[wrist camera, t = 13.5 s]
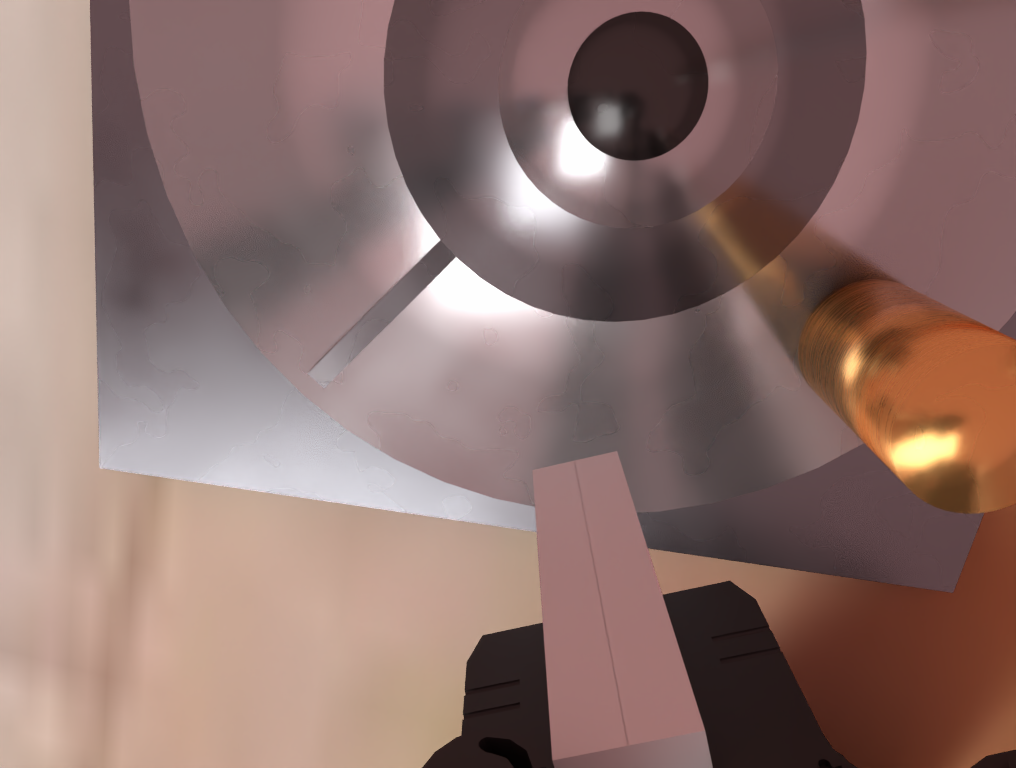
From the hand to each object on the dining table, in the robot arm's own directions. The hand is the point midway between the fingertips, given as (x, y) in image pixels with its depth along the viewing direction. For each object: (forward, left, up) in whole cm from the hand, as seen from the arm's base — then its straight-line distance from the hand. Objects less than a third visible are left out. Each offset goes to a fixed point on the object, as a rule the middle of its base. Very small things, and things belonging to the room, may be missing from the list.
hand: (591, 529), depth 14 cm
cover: (-1, +7, -5) cm, 9 cm away
